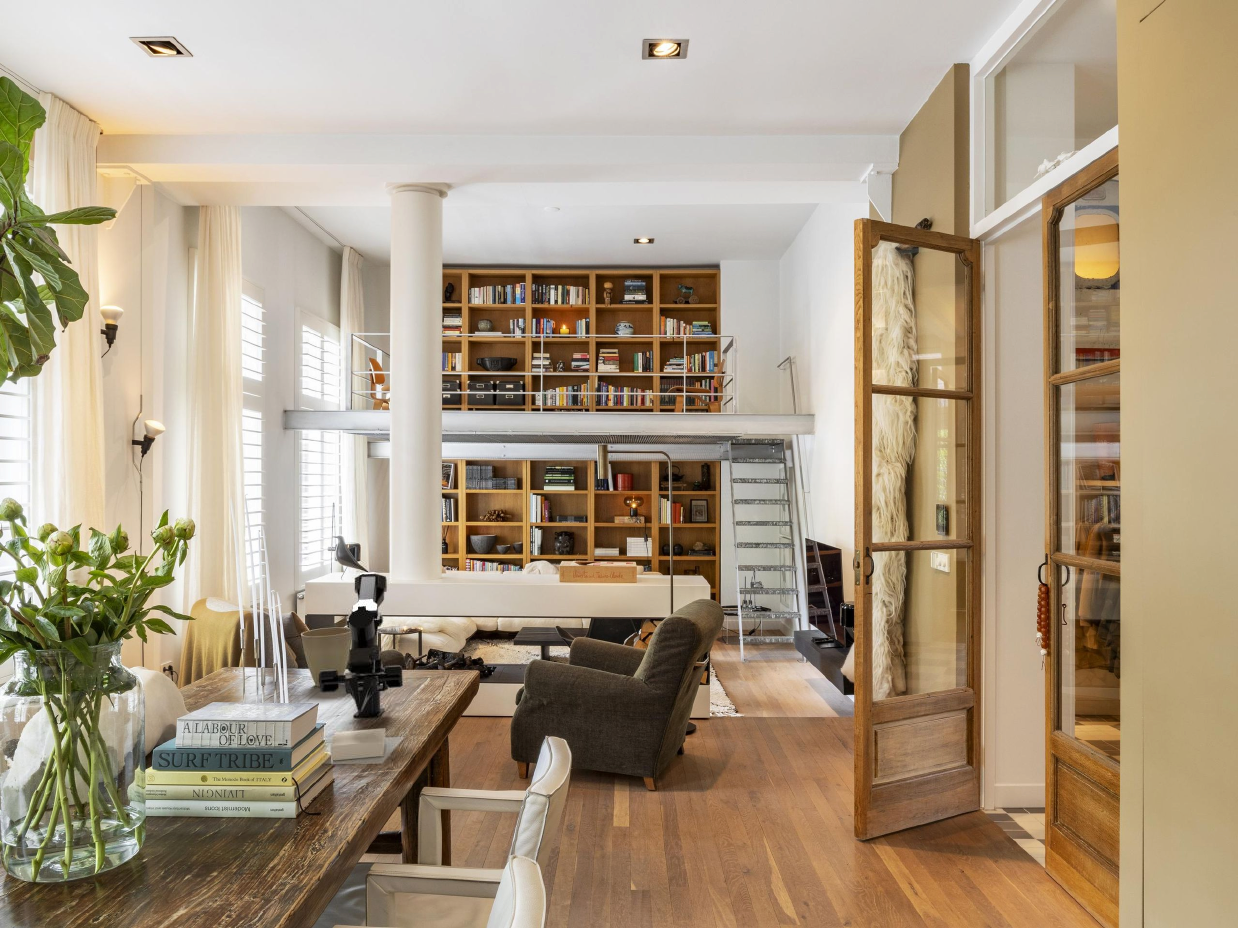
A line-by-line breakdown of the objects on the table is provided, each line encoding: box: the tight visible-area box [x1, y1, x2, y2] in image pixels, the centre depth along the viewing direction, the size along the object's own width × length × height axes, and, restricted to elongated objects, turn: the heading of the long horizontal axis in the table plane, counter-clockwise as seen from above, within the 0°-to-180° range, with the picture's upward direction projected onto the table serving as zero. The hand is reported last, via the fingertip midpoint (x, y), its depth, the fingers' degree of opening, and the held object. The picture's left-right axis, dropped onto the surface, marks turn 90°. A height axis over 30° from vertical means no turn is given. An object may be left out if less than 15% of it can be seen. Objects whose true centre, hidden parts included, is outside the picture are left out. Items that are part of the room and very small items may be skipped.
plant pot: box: [300, 627, 352, 688], centre depth 251 cm, size 15×15×16 cm
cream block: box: [331, 727, 386, 761], centre depth 186 cm, size 4×11×10 cm
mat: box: [326, 736, 405, 765], centre depth 187 cm, size 18×16×1 cm
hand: (359, 710), depth 189 cm, fingers closed
